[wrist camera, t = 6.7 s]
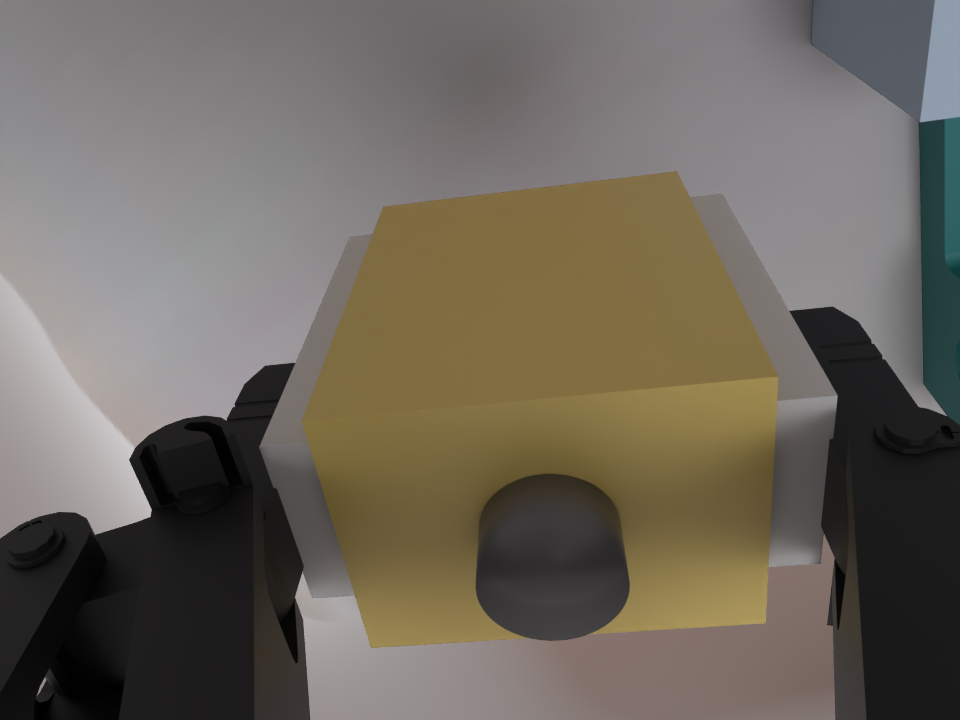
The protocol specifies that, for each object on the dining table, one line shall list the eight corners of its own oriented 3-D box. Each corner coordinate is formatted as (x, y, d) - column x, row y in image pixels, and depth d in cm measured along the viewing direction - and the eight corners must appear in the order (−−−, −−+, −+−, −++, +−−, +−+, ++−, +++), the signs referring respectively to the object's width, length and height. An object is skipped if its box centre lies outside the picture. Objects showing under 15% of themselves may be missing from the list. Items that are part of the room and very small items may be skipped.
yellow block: (383, 206, 16) (281, 475, 9) (677, 171, 15) (805, 429, 8) (419, 381, 18) (359, 709, 11) (680, 357, 17) (785, 686, 10)
